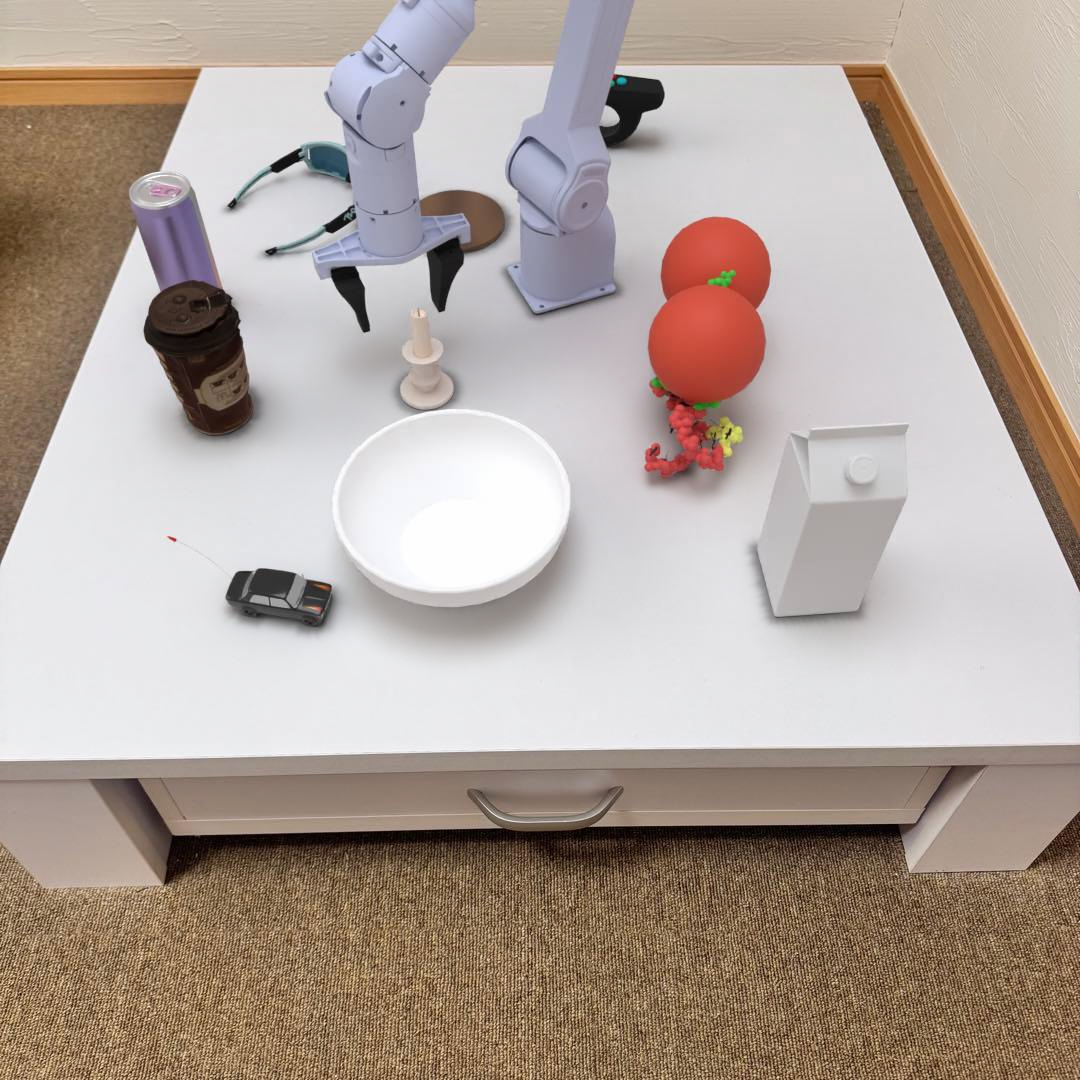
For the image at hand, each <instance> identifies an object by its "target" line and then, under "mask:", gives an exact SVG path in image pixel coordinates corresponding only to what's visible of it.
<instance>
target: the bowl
mask: <svg viewBox="0 0 1080 1080" xmlns="http://www.w3.org/2000/svg"><path fill="white" fill-rule="evenodd" d="M568 474H569V473H568V470H567V468H566V466H565V464H564V463H563V461H562V459H561V457H560V456H559V454H558V453H557V451H556V450H554V448H553V447H552V446H551V445H550V443H549V442H548V441H547V440H546V439H545V438H544V437H542V436H540V435H539V434H538V433H537V432H535V431H534V430H532V429H531V428H530V427H529V426H526V425H524V424H522V423H520V422H518V421H517V420H514V419H512V418H510V417H506V416H502V415H500V414H497V413H493V412H489V411H483V410H477V409H472V408H470V409H469V408H445V409H438V410H428V411H425V412H421V413H418V414H414V415H411V416H406V417H404V418H402V419H399V420H397V421H395V422H393V423H390V424H388V425H386V426H384V427H383V428H381V429H379V430H378V431H377V432H375V433H374V434H372V435H370V436H369V437H367V438H366V439H365V440H364V441H363V442H362V443H361V444H360V445H359V446H358V447H357V448H356V449H355V450H353V451H352V453H351V454H350V456H349V457H348V458H347V460H346V461H345V462H344V464H343V466H341V469H340V471H339V473H338V476H337V478H336V481H335V483H334V486H333V492H332V499H331V510H332V521H333V524H334V526H335V530H336V532H337V536H338V538H339V541H340V543H341V546H342V549H343V550H344V551H345V553H346V555H347V556H348V557H349V558H350V560H351V561H352V564H353V565H354V566H355V567H356V568H357V570H358V571H359V572H360V573H361V574H362V575H364V576H365V578H367V580H368V581H370V582H371V583H372V584H373V585H374V586H376V587H378V588H380V589H381V590H383V591H385V592H386V593H388V594H390V595H391V596H393V597H396V598H399V599H402V600H405V601H407V602H410V603H412V604H419V605H423V606H429V607H434V608H461V607H467V606H475V605H482V604H485V603H488V602H491V601H494V600H498V599H500V598H503V597H505V596H507V595H509V594H511V593H513V592H515V591H517V590H518V589H520V588H522V587H524V586H526V584H527V583H529V582H530V581H532V580H533V579H534V578H535V577H537V576H538V575H539V574H540V573H541V572H542V571H543V570H544V569H545V567H547V565H548V564H549V563H550V562H551V560H552V559H553V557H555V554H556V552H557V550H558V548H559V546H560V545H561V543H562V540H563V539H564V537H565V534H566V532H567V528H568V524H569V520H570V516H571V511H572V485H571V482H570V478H569V475H568Z"/></svg>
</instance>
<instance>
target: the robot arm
mask: <svg viewBox="0 0 1080 1080" xmlns="http://www.w3.org/2000/svg"><path fill="white" fill-rule="evenodd" d="M477 1H478V0H398V1H397V2H396V4H395V5H394V6H393V8H391V11H390V12H389V13H388V15H386V17H385V19H384V20H383V21H382V22H381V24H380V25H379V27H378V28H377V29H376V31H375V32H374V33H373V35H372V36H371V37H370V38H369V39H367V41H366V42H365V43H364V45H363V46H362V48H361V50H356V51H353V52H352V53H349V54H347V55H345V56H343V57H342V58H340V59H339V61H338V62H337V63H336V64H335V66H334V67H333V69H332V72H331V74H330V78H329V85H328V89H326V90H324V91H323V95H324V99H325V102H326V104H327V105H328V107H329V109H330V110H331V111H332V112H333V113H335V115H337V116H338V117H339V119H341V121H342V123H341V125H342V126H341V127H342V132H343V138H344V144H345V145H344V146H346V153H347V160H348V166H349V173H350V179H351V183H350V185H351V191H352V197H353V200H354V204H355V210H356V217H357V218H356V222H357V223H356V224H357V229H356V230H354V231H353V232H350V233H348V234H346V235H345V236H343V237H340V238H339V239H337V240H335V241H333V242H331V243H329V244H327V245H325V246H322V247H319V248H315V249H313V250H311V257H312V261H313V266H314V269H315V272H316V273H317V276H318V278H319V280H320V281H323V280H327V279H331V280H332V283H333V284H334V285H333V286H334V287H335V289H336V290H337V292H338V293H339V295H340V296H341V297H342V298H343V299H344V300H345V301H346V303H347V304H348V306H350V307H351V309H352V310H353V312H354V314H355V317H356V320H357V323H358V325H359V327H360V329H361V332H362V333H363V334H366V333H370V332H371V324H370V323H371V322H370V320H369V316H368V312H367V305H366V304H367V303H366V287H365V285H364V283H363V281H362V278H361V277H360V272H359V270H358V269H357V267H376V266H397V265H403V264H407V263H410V262H411V261H413V260H415V259H417V258H419V257H421V256H422V255H424V254H426V257H427V265H428V271H429V272H428V273H429V290H430V297H431V301H432V303H433V305H434V307H435V309H436V311H437V312H438V314H440V313H443V312H445V311H446V307H447V303H448V298H449V294H450V291H451V288H452V285H453V282H454V280H455V278H456V277H457V274H458V273H459V271H460V269H462V267H463V266H464V263H465V253H464V252H463V250H462V249H461V247H460V243H461V244H463V243H467V242H471V235H470V224H469V222H468V221H467V219H466V218H465V216H464V214H463V213H460V214H455V215H448V216H421V210H420V200H421V199H420V191H419V182H418V181H419V180H418V170H417V161H416V150H415V143H414V134H415V133H416V132H418V130H420V128H421V126H422V123H423V121H424V117H425V112H426V103H427V100H428V98H429V97H430V96H431V90H432V86H431V85H433V83H434V82H435V81H436V80H437V78H438V76H439V75H440V74H441V73H442V71H443V70H444V69H445V67H446V66H447V65H448V63H449V62H450V61H451V59H452V58H453V57H454V56H455V54H456V53H457V52H458V50H459V49H460V48H461V46H462V45H463V44H464V43H465V41H466V40H467V39H468V37H469V36H470V35H471V33H473V31H474V30H475V25H476V23H475V22H476V21H475V4H476V2H477ZM634 3H635V0H569V1H568V5H567V9H566V13H565V17H564V21H563V26H562V29H561V34H560V38H559V43H558V46H557V50H556V54H555V59H554V63H553V66H552V71H551V75H550V78H549V79H550V80H549V83H548V86H547V87H548V88H547V91H546V96H545V100H544V104H543V108H542V111H541V112H538V113H536V114H533V115H531V116H529V117H527V118H526V119H524V120H523V121H522V125H521V129H520V132H519V136H518V138H517V140H516V141H515V142H514V145H513V146H512V148H511V149H510V151H509V152H508V155H507V158H506V161H505V165H504V166H505V167H504V174H505V179H506V181H507V183H508V184H509V186H510V187H512V188H513V189H514V190H515V191H517V192H516V193H517V203H518V204H519V239H520V244H519V246H520V262H518V263H515V264H511V265H509V266H507V269H506V271H507V273H508V275H509V277H510V278H511V279H512V281H513V283H514V285H515V286H516V288H517V289H518V291H519V292H520V294H521V295H522V297H523V298H524V299H525V302H526V303H527V304H528V306H529V308H530V309H531V311H532V312H533V313H534V314H536V315H537V314H542V313H545V312H546V313H547V312H549V311H553V310H556V309H560V308H563V307H566V306H570V305H573V304H577V303H581V302H585V301H588V300H591V299H594V298H599V297H603V296H605V295H606V296H607V295H609V294H614V293H615V292H616V290H617V289H616V288H617V287H616V285H615V284H614V273H615V272H614V271H615V257H616V243H617V235H616V234H617V233H616V227H615V221H614V218H613V217H614V216H613V214H612V211H611V210H610V208H609V206H608V204H607V203H608V200H609V193H610V191H609V183H608V181H609V180H608V179H609V178H608V177H609V173H610V168H611V165H612V159H611V155H610V153H609V151H608V147H607V145H605V143H604V140H603V137H602V135H601V132H600V129H599V125H600V124H601V121H602V117H603V113H604V110H605V107H606V105H605V103H606V100H607V96H608V93H609V89H610V86H611V82H612V78H613V75H614V74H615V71H616V68H617V64H618V60H619V57H620V53H621V50H622V46H623V43H624V39H625V36H626V32H627V28H628V25H629V23H630V22H629V21H630V18H631V14H632V11H633V8H634ZM600 126H601V125H600Z"/></svg>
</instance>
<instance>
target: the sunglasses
mask: <svg viewBox="0 0 1080 1080" xmlns="http://www.w3.org/2000/svg"><path fill="white" fill-rule="evenodd" d="M300 162H304V163H305V164H306V167H307V168H308V169H309V170H310V171H312V172H313V173H320V174H323V175H328V176H331V177H334V178H337V179H339V180H342V181H345V182H346V183H349V184H351V179H350V173H349V166H348V160H347V153H346V145H343V144H341V143H337V142H334V141H329V140H317V141H310V142H305V143H302V144H300V145H299V148H296V149H295V150H293V151H291V152H289V153H288V154H286V155H284V156H282V157H280V158H279V159H277V160H276V161H274V162H273V163H271V164H270V165H268V166H266V167H264V168H262V169H260V170H259V171H257V173H256V174H255V175H254V176H252V178H250V179H249V180H248V181H246V183H244V185H243V186H242V187H241V188H240V189H239V190H238V192H237V193H236V195H235V196H234V198H233V199H232V200H231V201H230V202H229V203H228V204H227V206H226V207H227V208H228V209H229V208H230V209H233V208H234V207H235V206H237V204H238V203H239V202H240V200H241V199H242V197H244V195H245V194H246V193H247V192H248V191H249V190H250V189H251V188H252V187H253V186H254V185H255V184H257V183H258V182H259V181H261V180H262V179H263V178H265V177H267V176H269V175H270V174H272V173H274V174H279V173H281V172H282V171H285V170H286V169H288V168H289V167H291V166H293V165H294V164H297V163H300ZM352 201H353V202H352V204H351V205H349V206H348V207H347V209H345V211H343V212H341V213H340V214H339V215H338V216H336V217H335V218H333V219H332V220H330V221H328V222H327V223H325V224H323V225H321V227H319V228H317V230H315V231H314V232H312V233H310V234H308V235H306V236H303V237H301V238H299V239H297V240H295V241H292V242H289V243H285V244H282V245H278V246H277V245H276V246H274V247H271V248H268V249H266V250H264V253H266V254H267V255H269V256H272V255H274V254H277V253H281V252H285V251H289V250H293V249H296V248H298V247H302V246H304V245H306V244H308V243H311V242H313V241H314V240H317V239H318V238H320V237H321V236H323V235H324V234H325V233H328V234H335V233H336V232H338V231H340V230H342V229H343V228H344V227H347V225H349V224H351V223H352V222H354V221H355V220H357V217H356V210H355V204H354V199H352Z"/></svg>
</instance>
